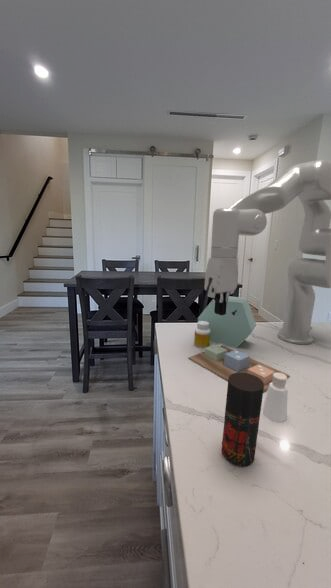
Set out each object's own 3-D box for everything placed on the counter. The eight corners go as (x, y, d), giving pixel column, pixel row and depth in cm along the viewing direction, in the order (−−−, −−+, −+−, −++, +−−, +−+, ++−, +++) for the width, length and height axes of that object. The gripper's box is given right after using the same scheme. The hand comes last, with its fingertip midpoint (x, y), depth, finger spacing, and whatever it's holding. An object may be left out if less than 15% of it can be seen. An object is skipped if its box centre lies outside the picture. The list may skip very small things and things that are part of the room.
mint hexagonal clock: (230, 352, 102) (266, 314, 92) (224, 360, 95) (263, 320, 86) (197, 322, 106) (229, 283, 97) (189, 328, 99) (222, 286, 90)
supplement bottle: (208, 353, 90) (210, 326, 88) (193, 351, 91) (194, 324, 89) (209, 346, 95) (211, 320, 93) (194, 344, 96) (196, 319, 94)
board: (221, 350, 93) (222, 345, 92) (288, 381, 74) (289, 375, 74) (188, 363, 83) (188, 357, 82) (255, 402, 65) (256, 395, 64)
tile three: (256, 376, 76) (258, 363, 75) (273, 385, 72) (275, 371, 71) (246, 382, 73) (247, 368, 72) (262, 391, 69) (264, 376, 68)
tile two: (234, 361, 82) (235, 349, 81) (248, 368, 78) (249, 355, 77) (223, 366, 79) (225, 353, 78) (237, 373, 75) (239, 359, 74)
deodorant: (217, 441, 52) (224, 372, 49) (247, 440, 53) (255, 372, 49) (226, 468, 46) (234, 391, 43) (259, 466, 47) (270, 391, 44)
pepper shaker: (265, 408, 63) (271, 366, 60) (289, 419, 59) (297, 374, 57) (256, 420, 58) (262, 375, 56) (282, 432, 55) (290, 385, 53)
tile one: (214, 355, 88) (215, 343, 87) (226, 361, 84) (227, 349, 83) (203, 359, 85) (204, 347, 84) (215, 366, 81) (216, 353, 80)
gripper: (230, 251, 84) (226, 306, 89) (196, 253, 75) (193, 315, 80) (250, 253, 78) (245, 312, 83) (216, 255, 69) (212, 322, 74)
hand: (220, 313), depth 81 cm, fingers closed
